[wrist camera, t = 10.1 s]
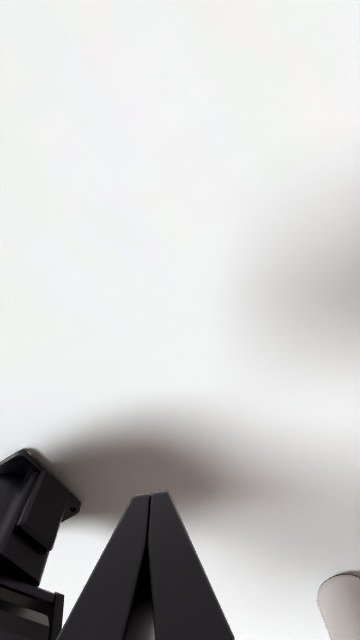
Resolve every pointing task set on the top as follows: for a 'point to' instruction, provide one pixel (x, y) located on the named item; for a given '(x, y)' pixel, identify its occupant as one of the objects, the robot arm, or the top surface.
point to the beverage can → (341, 607)
